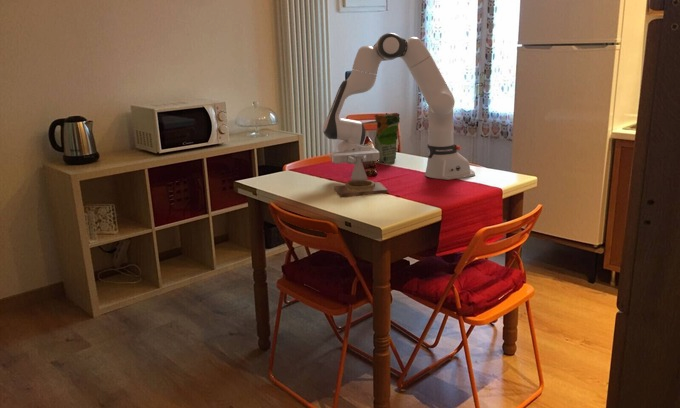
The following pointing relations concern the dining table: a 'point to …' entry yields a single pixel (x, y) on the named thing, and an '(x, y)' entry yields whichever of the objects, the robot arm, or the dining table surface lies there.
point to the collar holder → (360, 188)
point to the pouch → (386, 136)
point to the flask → (358, 170)
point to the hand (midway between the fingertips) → (359, 160)
